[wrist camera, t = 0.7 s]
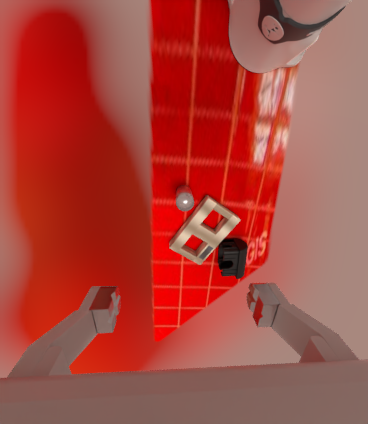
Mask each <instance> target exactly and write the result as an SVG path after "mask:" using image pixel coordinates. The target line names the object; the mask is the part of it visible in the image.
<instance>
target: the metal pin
mask: <svg viewBox="0 0 368 424" xmlns="http://www.w3.org/2000/svg"><path fill="white" fill-rule="evenodd" d="M176 205H177V207H178V208H179V209H180V210H182V211H188V210H190V209H192V207H193V206H194V199H193V196H192V192H191V189H190V188H189V187H188V186H187V185H180V186H179V187H178V188H177V189H176Z"/></svg>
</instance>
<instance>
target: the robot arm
mask: <svg viewBox="0 0 368 424" xmlns="http://www.w3.org/2000/svg"><path fill="white" fill-rule="evenodd" d="M351 1H352V0H228V3H229V8H230V20H229V40H230V45H231V49H232V52H233V54H234V56H235V58H236V59H237V61H238V62H239V63H240V64H241V65H242V66H243V67H244V68H245V69H247V70H249V71H251V72H255V73H266V72H269V71H272V70H274V69H277V68H279V67H294V66H295V65H297V64H298V63H299V62H300V60H301V59H302V57H303V55H304V53H305V51H306V50H307V48H309V47H310V46H311V45H313V44H314V43H315V42H316V41H317V40H318V38H319V34H320V33H321V31H322V29H323V27H325V26H326V25H327V24H328V23H330V22H331V21H332V20H333V19H334V18H335V17H336V16H337V15H338V14H339V13H340V12H341V11H342V10H343V9H344V8H345V6H346V5H347V4H348V3H350V2H351ZM249 290H250V292H248V294H247V303H248V307H249V309H250V310H251V311H252V312H253V318H254V320H255V322H256V324H257V327H272V329H273V330H274V331H276V332H277V333H278V334H279V335H280V336H281V337H282V338H283V339H284V340H285V341H286V342H287V343H288V344H289V345H290V346H291V347H292V348H293V349H294V350H295V351H296V352H297V353H298V354H299V355H300V356H301V359H300V361H299V363H286V364H267V365H249V366H248V365H247V366H230V367H229V366H227V367H208V368H189V369H170V370H150V371H132V372H131V371H130V372H111V373H90V374H71V371H70V369H69V365H70V364H71V363H72V362H73V361H74V360H75V359H76V358H77V356H78V355H79V354H80V353H81V352H82V351H83V350H84V348H85V347H86V346H87V345H88V344H89V343H90V342H91V341H92V339H93V338H94V337H95V336H96V335H97V333H110V332H113V330H114V327H115V324H116V316H117V315H118V313H119V310H120V305H121V298H120V296H119V295H118V294H119V287H117V286H113V287H112V286H101V287H99V286H98V287H96V286H93V287H91V288H90V290H89V292H88V294H87V295H86V297H85V299H84V301H83V303H82V305H81V306H80V308H79V310H78V311H74V312H73V313H72V314H71V315H69V316H68V317H67V318H65V319H64V320H63V321H61V322H60V323H59V324H57V325H56V326H55V327H54V328H52V329H51V330H50V331H48V332H47V333H46V334H44V335H43V336H42V337H40V338H39V339H38V340H36V341H35V342H34V343H33V344H31V345H30V346H29V347H28V348H27V350H26V351H25V352H24V354H23V355H22V357H21V358H20V360H19V361H18V362H17V364H16V365H15V367H14V368H13V370H12V372H11V373H10V374H9V375H8V377H7V378H0V424H368V359H365V360H359V359H358V358H357V357H356V356H355V354H354V353H353V352H352V351H351V349H350V348H349V347H348V346H347V345H346V343H345V342H344V341H343V340H342V339H341V337H340V336H339V335H338V334H337V333H335V332H334V331H332V330H331V329H329V328H327V327H326V326H325V325H323V324H322V323H320V322H319V321H317V320H316V319H314V318H312V317H311V316H309V315H308V314H306V313H305V312H303V311H302V310H300V309H299V308H297V307H296V306H294V305H291V304H290V303H289V302H288V300H287V299H286V298H285V296H284V295H283V293H282V292H281V291H280V289H279V288H278V286H277V285H276V284H275V283H251V284H250V285H249Z"/></svg>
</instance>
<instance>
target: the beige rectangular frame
mask: <svg viewBox="0 0 368 424" xmlns="http://www.w3.org/2000/svg"><path fill="white" fill-rule="evenodd" d="M212 209H214V210H215V211H217V212H218V213H220V214H221V215H223V216H224V218H223V219H222V220H221V222H220V223H219V224H218V225H217V226H216V227H215V229H212V228H210V227H209V226H207V225H206V224H204V223H202V222H203V220H204V219H205V218H206V217H207V215H208V214H209V213H210V212H211V211H212ZM239 221H240V218H239V217H238V216H237V215H236V214H234V213H233V212H231V211H230V210H229V209H227V208H226V207H224V206H223V205H221V204H220V203H218V202H217V201H216V200H214V199H213V198H211V197H210V196H208V195H206V196H205V197H204V199H203V200H202V201H201V203H200V204H199V205H198V206H197V208H196V209H195V210H194V212H193V213H192V214H191V215H190V217H189V218H188V219H187V221H186V222H185V223H184V224H183V226H182V227H181V228H180V230H179V231H178V232H177V233H176V235H175V236H174V237H173V239H172V240H171V241H170V245H169V248H170V249H172V250H174V251H175V252H177V253H179V254H181V255H183V256H185V257H186V258H188V259H190V260H192V261H194V262H196V263H197V264H199V265H201V264H202V262H203V261H204V260H205V259H206V258H207V257H208V256H209V255H210V254H211V252H212V251H213V250H214V249H215V248H216V247H217V246H218V245H219V244H220V242H221V241H222V240H223V239H224V238H225V237H226V236H227V235H228V234H229V233H230V231H231V230H232V229H233V228H234V227H235V226H236V225H237V224H238V223H239ZM192 234H193V235H195V236H196V237H198V238H200V239H201V240H203V243H202V244H201V245H200V246H199V247H198V248H197V250H196V251H195V250H193V249H191V248H189V247H187V246H186V245H184V244H185V242H186V241H187V240H188V239H189V238H190V236H191V235H192Z"/></svg>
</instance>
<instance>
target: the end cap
mask: <svg viewBox="0 0 368 424" xmlns="http://www.w3.org/2000/svg"><path fill="white" fill-rule="evenodd" d="M247 248H248V246H247V244H246V243H245V242H244V241H242V240H240V239H223V240H222V241H221V242H220V244H219V250H218V264H219V269H220V270H222V272H221V275H222V276H236V279H239V278H241V277H243V275H244V271H245V263H246V256H247Z"/></svg>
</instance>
